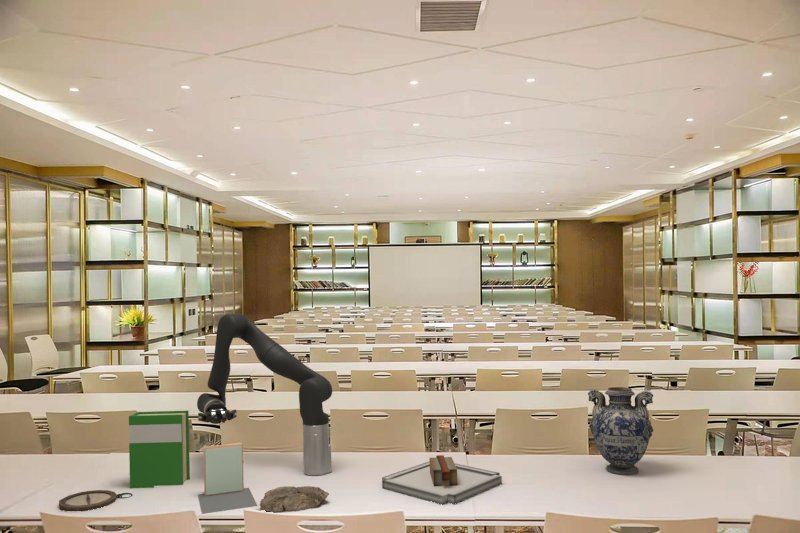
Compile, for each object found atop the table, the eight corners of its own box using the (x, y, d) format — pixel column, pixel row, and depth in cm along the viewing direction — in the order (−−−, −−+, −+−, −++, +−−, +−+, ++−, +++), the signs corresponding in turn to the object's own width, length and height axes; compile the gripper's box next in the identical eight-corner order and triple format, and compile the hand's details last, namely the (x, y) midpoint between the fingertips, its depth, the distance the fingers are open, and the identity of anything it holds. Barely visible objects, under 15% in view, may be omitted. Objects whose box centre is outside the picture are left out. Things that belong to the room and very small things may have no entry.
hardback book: (189, 480, 225) (188, 410, 226) (182, 486, 218) (181, 414, 218) (138, 481, 225) (137, 411, 226) (129, 488, 218) (128, 416, 219)
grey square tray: (376, 488, 212) (376, 465, 212) (435, 468, 234) (435, 447, 234) (449, 508, 192) (448, 483, 192) (506, 483, 214) (505, 460, 214)
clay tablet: (330, 496, 205) (266, 497, 205) (330, 480, 205) (266, 482, 205) (327, 513, 191) (258, 514, 191) (327, 496, 191) (258, 497, 191)
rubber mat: (248, 489, 213) (248, 487, 213) (257, 507, 195) (257, 505, 195) (197, 496, 207) (197, 494, 207) (201, 515, 190) (201, 513, 190)
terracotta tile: (242, 488, 212) (241, 442, 212) (243, 491, 209) (242, 444, 210) (204, 493, 208) (203, 446, 208) (205, 496, 205) (204, 448, 206)
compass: (46, 514, 196) (46, 507, 196) (73, 496, 212) (73, 490, 212) (113, 512, 196) (113, 505, 196) (135, 494, 212) (135, 488, 212)
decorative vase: (586, 475, 218) (584, 391, 219) (592, 461, 235) (590, 383, 236) (655, 481, 210) (652, 394, 211) (656, 466, 227) (653, 385, 228)
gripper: (195, 402, 232) (198, 410, 215) (234, 398, 236) (240, 406, 220) (195, 423, 231) (198, 433, 215) (235, 419, 236) (241, 429, 220)
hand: (220, 420), depth 218 cm, fingers closed
